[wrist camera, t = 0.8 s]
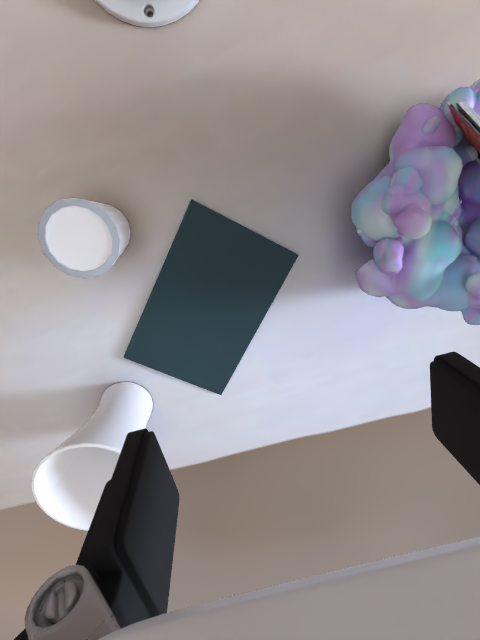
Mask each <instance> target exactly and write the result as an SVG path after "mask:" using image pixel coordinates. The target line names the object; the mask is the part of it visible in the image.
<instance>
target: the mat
mask: <svg viewBox="0 0 480 640" xmlns="http://www.w3.org/2000/svg"><path fill="white" fill-rule="evenodd" d="M297 257H298V254H296V253H294V252H292V251H290V250H288V249H286V248H284V247H282V246H280V245H278V244H276V243H274V242H272V241H270V240H269V239H267V238H265V237H263V236H261V235H259V234H257V233H255V232H253V231H251V230H249V229H247V228H245V227H243V226H241V225H239V224H238V223H236V222H234V221H232V220H230V219H228V218H226V217H224V216H222V215H220V214H218V213H216V212H214V211H212V210H210V209H209V208H207V207H205V206H203V205H201V204H199V203H197V202H195V201H193V200H191V202H190V204H189V206H188V209H187V211H186V213H185V216H184V218H183V220H182V223H181V225H180V227H179V230H178V232H177V234H176V237H175V239H174V241H173V244H172V246H171V248H170V251H169V253H168V255H167V258H166V260H165V262H164V265H163V267H162V269H161V271H160V274H159V276H158V278H157V281H156V283H155V285H154V288H153V290H152V292H151V295H150V297H149V299H148V302H147V304H146V306H145V309H144V311H143V313H142V316H141V318H140V320H139V323H138V325H137V327H136V330H135V332H134V334H133V337H132V339H131V341H130V344H129V346H128V348H127V351H126V353H125V355H124V358H126V359H129V360H131V361H134V362H137V363H139V364H142V365H144V366H147V367H150V368H152V369H155V370H157V371H160V372H163V373H165V374H168V375H170V376H173V377H176V378H178V379H181V380H183V381H186V382H189V383H191V384H194V385H196V386H199V387H201V388H204V389H207V390H209V391H212V392H214V393H217V394H220V395H221V394H222V392H223V391H224V389H225V387H226V385H227V383H228V382H229V380H230V378H231V376H232V374H233V373H234V371H235V369H236V367H237V365H238V364H239V362H240V360H241V358H242V356H243V355H244V353H245V351H246V349H247V347H248V345H249V344H250V342H251V340H252V338H253V336H254V335H255V333H256V331H257V329H258V327H259V326H260V324H261V322H262V320H263V318H264V317H265V315H266V313H267V311H268V309H269V308H270V306H271V304H272V302H273V300H274V298H275V297H276V295H277V293H278V291H279V289H280V288H281V286H282V284H283V282H284V280H285V279H286V277H287V275H288V273H289V271H290V270H291V268H292V266H293V264H294V262H295V260H296V259H297Z"/></svg>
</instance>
